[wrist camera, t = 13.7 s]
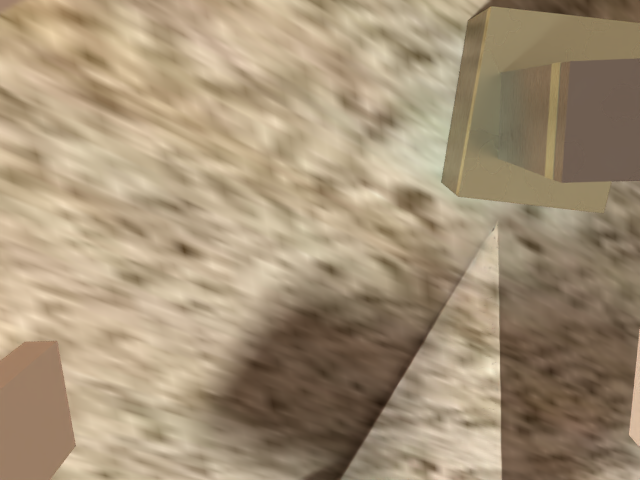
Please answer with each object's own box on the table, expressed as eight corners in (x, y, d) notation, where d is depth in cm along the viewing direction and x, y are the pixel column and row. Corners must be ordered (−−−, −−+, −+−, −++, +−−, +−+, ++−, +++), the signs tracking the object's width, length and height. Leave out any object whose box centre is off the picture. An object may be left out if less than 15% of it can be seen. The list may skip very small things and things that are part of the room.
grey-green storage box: (571, 197, 40) (610, 214, 34) (441, 182, 40) (458, 196, 34) (607, 36, 37) (656, 24, 31) (468, 20, 37) (491, 6, 32)
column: (497, 158, 34) (561, 183, 24) (501, 72, 32) (569, 60, 23) (582, 156, 33) (681, 179, 24) (589, 68, 32) (696, 55, 22)
